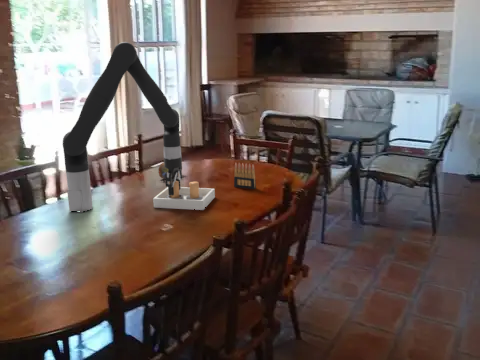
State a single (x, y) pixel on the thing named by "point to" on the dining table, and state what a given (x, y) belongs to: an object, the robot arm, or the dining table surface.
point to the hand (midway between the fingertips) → (174, 192)
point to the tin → (163, 170)
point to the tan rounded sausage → (175, 190)
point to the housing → (186, 198)
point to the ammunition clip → (244, 176)
